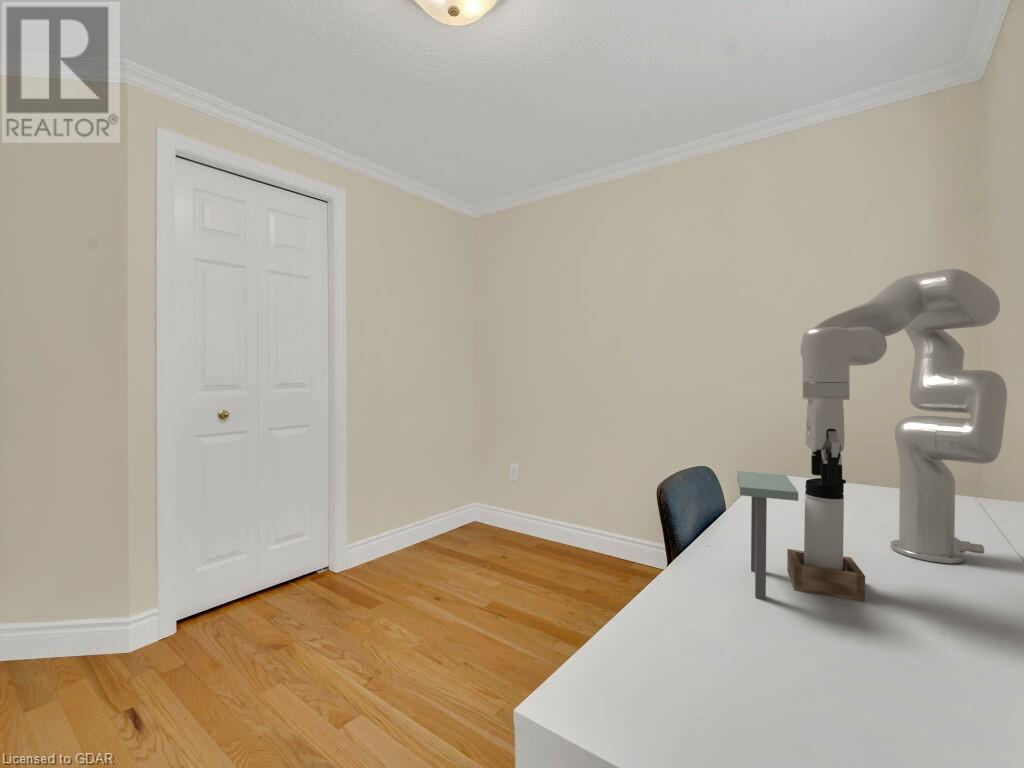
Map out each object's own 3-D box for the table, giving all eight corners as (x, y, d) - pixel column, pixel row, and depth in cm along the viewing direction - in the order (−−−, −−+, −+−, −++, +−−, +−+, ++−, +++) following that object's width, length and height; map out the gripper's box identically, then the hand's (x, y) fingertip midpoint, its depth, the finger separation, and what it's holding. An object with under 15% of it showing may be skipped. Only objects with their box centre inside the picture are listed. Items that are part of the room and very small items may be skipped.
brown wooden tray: (850, 580, 92) (851, 557, 92) (865, 601, 83) (865, 576, 83) (787, 570, 96) (787, 548, 96) (794, 589, 87) (794, 565, 87)
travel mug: (851, 590, 86) (853, 482, 86) (812, 586, 87) (813, 480, 87) (834, 576, 92) (836, 476, 92) (798, 573, 94) (799, 474, 94)
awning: (784, 571, 96) (785, 474, 96) (797, 607, 80) (798, 492, 80) (736, 564, 99) (737, 471, 99) (739, 597, 84) (740, 487, 84)
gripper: (796, 390, 99) (796, 470, 99) (810, 393, 83) (811, 488, 84) (838, 390, 96) (838, 473, 96) (861, 393, 80) (862, 492, 80)
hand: (826, 480), depth 90 cm, fingers open, 9 cm apart
